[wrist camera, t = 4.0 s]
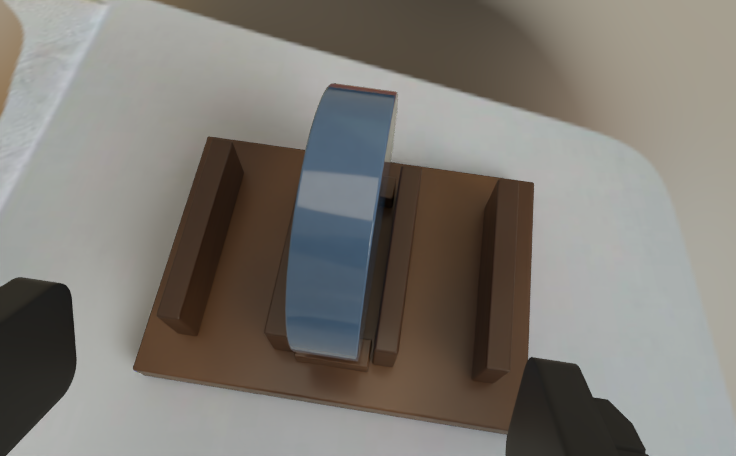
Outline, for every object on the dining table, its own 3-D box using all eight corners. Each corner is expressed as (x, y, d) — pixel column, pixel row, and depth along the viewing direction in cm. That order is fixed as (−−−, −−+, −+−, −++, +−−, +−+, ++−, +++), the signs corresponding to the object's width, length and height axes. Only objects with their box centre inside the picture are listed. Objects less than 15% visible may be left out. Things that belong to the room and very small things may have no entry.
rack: (526, 195, 24) (553, 151, 21) (516, 436, 20) (547, 428, 17) (214, 150, 25) (192, 100, 22) (143, 375, 21) (103, 356, 18)
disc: (389, 178, 23) (406, 29, 15) (357, 382, 20) (357, 321, 12) (342, 171, 23) (335, 20, 16) (302, 373, 20) (267, 307, 12)
